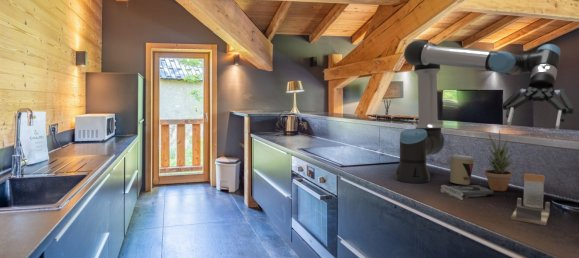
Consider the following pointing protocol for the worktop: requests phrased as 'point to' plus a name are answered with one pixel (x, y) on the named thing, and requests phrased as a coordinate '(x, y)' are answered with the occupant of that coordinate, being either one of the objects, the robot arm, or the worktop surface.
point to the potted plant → (499, 168)
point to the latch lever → (533, 191)
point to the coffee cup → (461, 169)
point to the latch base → (531, 214)
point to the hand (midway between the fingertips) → (531, 126)
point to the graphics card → (465, 191)
